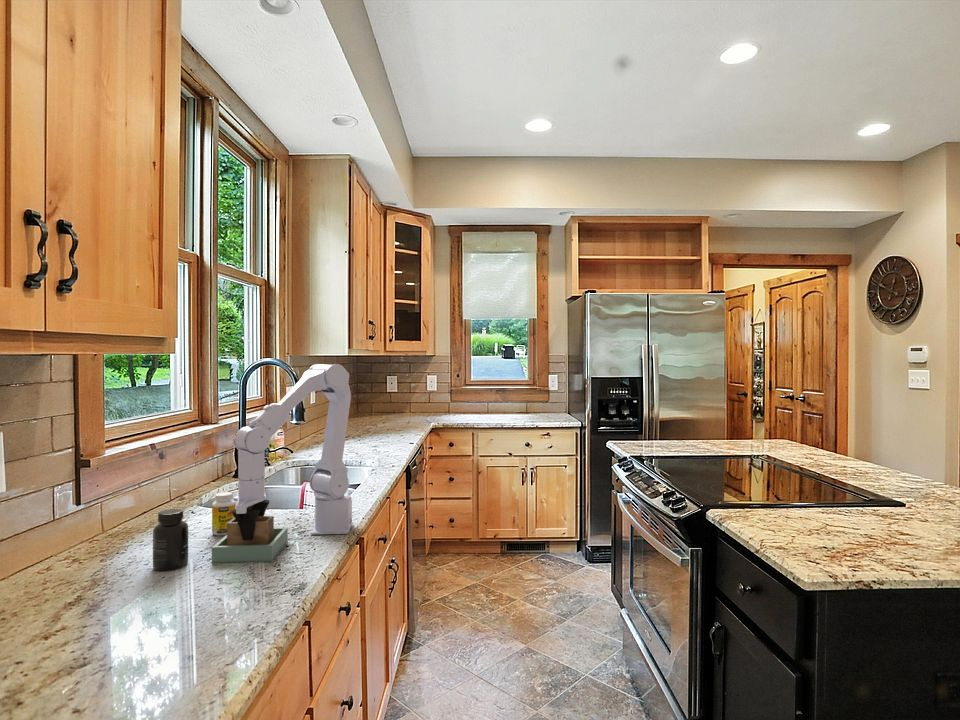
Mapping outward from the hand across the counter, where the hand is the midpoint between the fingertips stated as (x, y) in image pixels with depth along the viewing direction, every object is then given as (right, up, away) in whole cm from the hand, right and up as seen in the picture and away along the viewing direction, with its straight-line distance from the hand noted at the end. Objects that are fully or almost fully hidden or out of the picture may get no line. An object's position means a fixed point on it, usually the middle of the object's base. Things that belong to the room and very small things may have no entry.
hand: (251, 535), depth 127 cm
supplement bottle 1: (-14, -4, -8) cm, 17 cm away
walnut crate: (0, -2, 0) cm, 2 cm away
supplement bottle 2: (-13, -4, +14) cm, 20 cm away
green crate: (0, -4, 0) cm, 4 cm away
